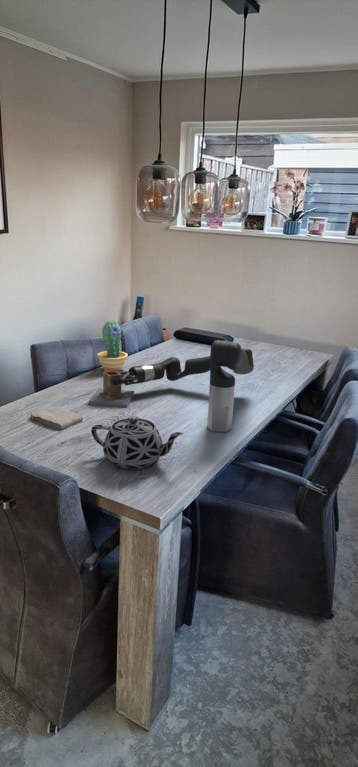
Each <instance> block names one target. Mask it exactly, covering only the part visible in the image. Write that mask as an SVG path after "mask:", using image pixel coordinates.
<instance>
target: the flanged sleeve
mask: <svg viewBox="0 0 358 767" xmlns="http://www.w3.org/2000/svg"><path fill="white" fill-rule="evenodd" d="M120 378H121V374H120V373H118V372H117V371H109V372H105V371H103V372H102V387H103V388H102V389H103V392H100V395H101V396H102V397H104V398H105V399H107V400H113V399H118V398H123V397H125V394H123V393H121V390H122V384H118V385H113V383H112V381H113V380H114V379H120Z"/></svg>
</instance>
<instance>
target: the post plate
mask: <svg viewBox="0 0 358 767" xmlns="http://www.w3.org/2000/svg"><path fill="white" fill-rule="evenodd" d="M100 392H103V388H97V389H96V391H95V393H93V395H92V396H91V397H90V399H89V400H88V405H90V406H91V405H94V406H104V407H105V406H107V407H120V408H121V407H122V408H128V407H129V404H130V402H131V401H132V399H133V397H134V396H135V390H125V389H121V393H123V394H125V397H123V398H118V399H113V400H107V399H105V398H104V397H102V396H101V395H100Z"/></svg>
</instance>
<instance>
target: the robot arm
mask: <svg viewBox="0 0 358 767" xmlns="http://www.w3.org/2000/svg"><path fill="white" fill-rule="evenodd" d="M209 354H210V355H209V356H208V355H207V356H203V357H195V358H188V359H187V360H185V363H184V370H182V366H181V361H180V359H179V358H178V357H175V356H174V357H173V356H172V357H169V358H166V359H164V360H163V361H161V362H158V363H152V364H143V365H142V364H141V365H136V366H131V367H130V368H129V370H128V371H127V370H124V369H122V368H121V370H113V371H117V372H118V373H120V374H121V378H120V379H114V380H113V381H112V383H113V385H118V384H121V385H124V386H132V385H137V384H143V383H148V382H151V381H158V380H162V379H163V378H164V376H165V377H166V379H167V380H168V381H170V382H176V381H177V380H180V379H183V378H185V377H187V376H192V375H199V374H206V373H209V390H208V406H207V407H208V408H207V425H206V427H207V429H209V430H210V432H217V433H218V432H219V433H228V431H231V430H232V429H231V428H232V427H233V417H234V416H233V413H234V404H235V403H234V402H235V400H234V398H235V387H236V378H235V376H234V374H237V375H248V374H250V373H252V372H253V371H254V369H255V366H254V357H253V351H252V349H250V348H242V347H241V344H240V343H238V342H235V341H228V340H219V339H218V340H214V341H213V342H212V343H211V347H210V353H209ZM222 367H223V368H228V369H229V370H231V371H233V373H234V374H233V375H232V374H231V373H230V372H227V371H225V370H224V369H223V368H222ZM230 429H231V430H230Z"/></svg>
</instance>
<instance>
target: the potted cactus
mask: <svg viewBox="0 0 358 767" xmlns="http://www.w3.org/2000/svg"><path fill="white" fill-rule="evenodd" d="M101 331H102V338H103V340H104V344H105V347H106V350H105V351H101V352H98V353H97V355H96V356H97V359H99V363H100V365H101V366H102V368H103V372H109V371H113V370H121V369H122V368H123V366H125V363H126V360H128V353H127V352H125V351H120V348H121V347H120V341H121V339H122V329H121V327H120V325H119V324H118V322H117V321H116V320H107V321H106V323H105V324H104V326H103V327H102V330H101Z"/></svg>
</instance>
